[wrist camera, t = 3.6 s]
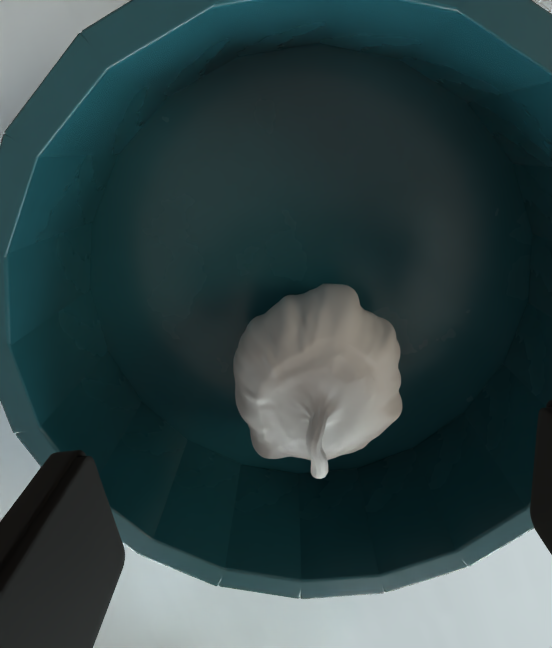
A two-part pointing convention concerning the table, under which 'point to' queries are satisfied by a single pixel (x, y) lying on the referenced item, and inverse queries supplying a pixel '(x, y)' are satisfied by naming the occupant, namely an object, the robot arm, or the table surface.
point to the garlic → (317, 377)
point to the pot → (286, 273)
